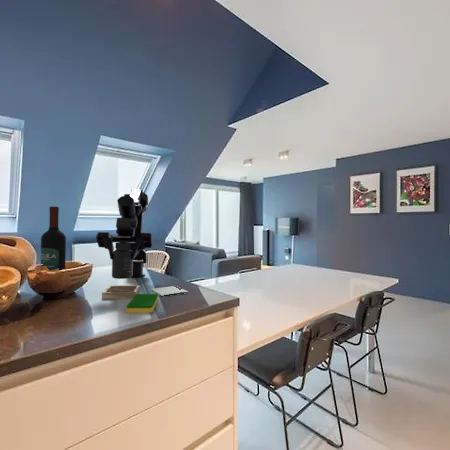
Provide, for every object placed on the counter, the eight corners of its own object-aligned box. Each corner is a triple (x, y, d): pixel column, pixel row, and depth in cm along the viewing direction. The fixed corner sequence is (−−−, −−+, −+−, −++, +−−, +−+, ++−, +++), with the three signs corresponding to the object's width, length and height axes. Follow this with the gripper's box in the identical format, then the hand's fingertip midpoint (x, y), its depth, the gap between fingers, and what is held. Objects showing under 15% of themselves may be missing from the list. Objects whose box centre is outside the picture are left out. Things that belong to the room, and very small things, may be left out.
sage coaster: (151, 290, 106) (151, 288, 106) (175, 287, 112) (175, 285, 112) (161, 296, 98) (161, 294, 98) (187, 293, 104) (187, 291, 104)
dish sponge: (126, 314, 80) (126, 306, 80) (136, 300, 94) (136, 293, 94) (152, 314, 81) (152, 305, 80) (158, 300, 94) (158, 293, 94)
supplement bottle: (107, 277, 98) (107, 242, 98) (122, 274, 104) (123, 241, 104) (121, 280, 95) (122, 243, 95) (136, 276, 101) (137, 242, 101)
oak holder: (109, 291, 104) (109, 285, 104) (139, 290, 105) (139, 285, 105) (101, 299, 93) (101, 292, 93) (135, 298, 95) (135, 292, 95)
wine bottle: (69, 291, 103) (70, 207, 102) (46, 295, 96) (48, 205, 96) (58, 288, 107) (59, 207, 106) (35, 291, 100) (37, 206, 100)
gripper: (97, 209, 101) (88, 243, 91) (152, 210, 104) (148, 243, 94) (103, 230, 109) (94, 264, 99) (153, 231, 112) (150, 263, 102)
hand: (121, 258), depth 98 cm, fingers closed on supplement bottle, 7 cm apart
